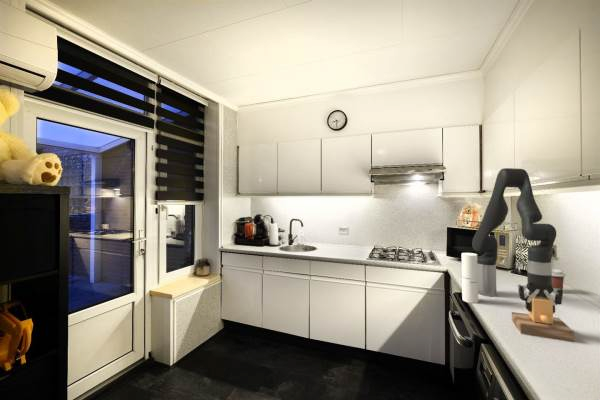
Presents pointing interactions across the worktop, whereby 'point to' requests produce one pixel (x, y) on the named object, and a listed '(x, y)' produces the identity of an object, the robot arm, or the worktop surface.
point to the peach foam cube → (541, 310)
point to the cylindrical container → (469, 278)
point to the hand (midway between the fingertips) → (540, 312)
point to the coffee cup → (557, 279)
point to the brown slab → (542, 327)
